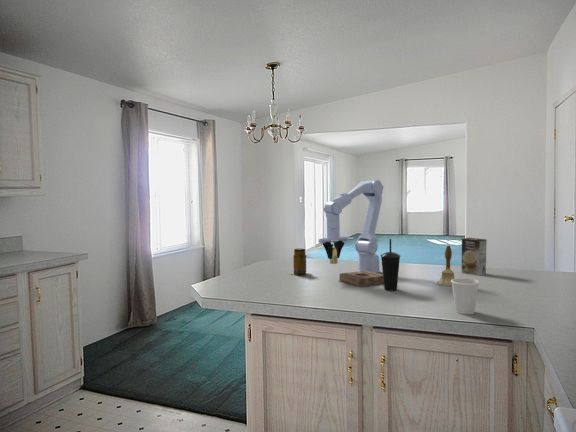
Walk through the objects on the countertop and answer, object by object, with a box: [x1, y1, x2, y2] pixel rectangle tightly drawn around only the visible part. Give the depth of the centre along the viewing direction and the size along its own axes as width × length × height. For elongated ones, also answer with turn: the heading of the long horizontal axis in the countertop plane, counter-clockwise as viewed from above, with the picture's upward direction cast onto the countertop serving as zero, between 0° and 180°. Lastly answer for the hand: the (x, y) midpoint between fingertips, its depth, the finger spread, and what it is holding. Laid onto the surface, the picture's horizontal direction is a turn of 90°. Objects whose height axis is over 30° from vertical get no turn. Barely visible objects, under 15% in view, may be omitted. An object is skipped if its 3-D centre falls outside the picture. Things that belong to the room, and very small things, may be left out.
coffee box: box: [460, 237, 488, 276], centre depth 197 cm, size 9×6×16 cm
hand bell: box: [436, 245, 456, 287], centre depth 175 cm, size 8×8×16 cm
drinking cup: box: [380, 238, 401, 292], centre depth 168 cm, size 8×8×20 cm
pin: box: [329, 246, 339, 265], centre depth 192 cm, size 4×4×7 cm
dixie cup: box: [451, 277, 480, 315], centre depth 135 cm, size 8×8×10 cm
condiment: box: [289, 248, 312, 277], centre depth 203 cm, size 7×8×12 cm
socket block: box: [339, 270, 384, 287], centre depth 184 cm, size 14×14×3 cm
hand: (333, 258), depth 192 cm, fingers closed on pin, 3 cm apart
